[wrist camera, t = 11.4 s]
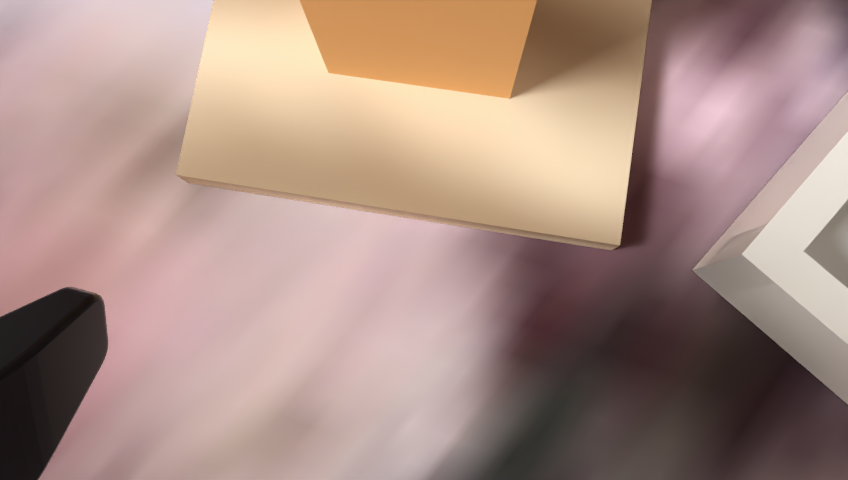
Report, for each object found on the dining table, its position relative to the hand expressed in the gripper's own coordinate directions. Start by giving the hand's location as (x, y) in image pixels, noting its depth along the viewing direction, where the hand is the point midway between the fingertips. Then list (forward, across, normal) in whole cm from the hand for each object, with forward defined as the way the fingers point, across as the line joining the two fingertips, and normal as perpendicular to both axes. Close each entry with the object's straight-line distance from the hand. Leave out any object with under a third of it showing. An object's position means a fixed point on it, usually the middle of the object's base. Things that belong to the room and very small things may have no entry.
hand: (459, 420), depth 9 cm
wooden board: (+15, +3, +1) cm, 16 cm away
